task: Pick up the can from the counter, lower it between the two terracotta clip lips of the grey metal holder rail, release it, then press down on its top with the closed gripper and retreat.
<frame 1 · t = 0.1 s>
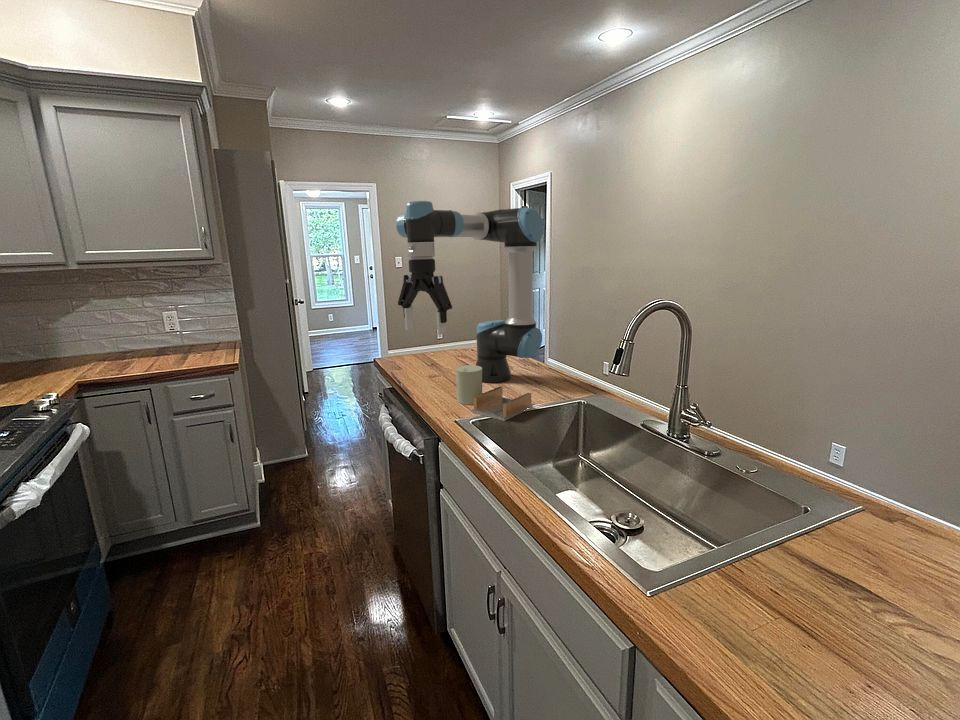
hand: (425, 331, 141), 28 cm above the worktop, fingers open, 13 cm apart
can: (469, 400, 166), on the worktop
rail holder: (502, 409, 156), on the worktop
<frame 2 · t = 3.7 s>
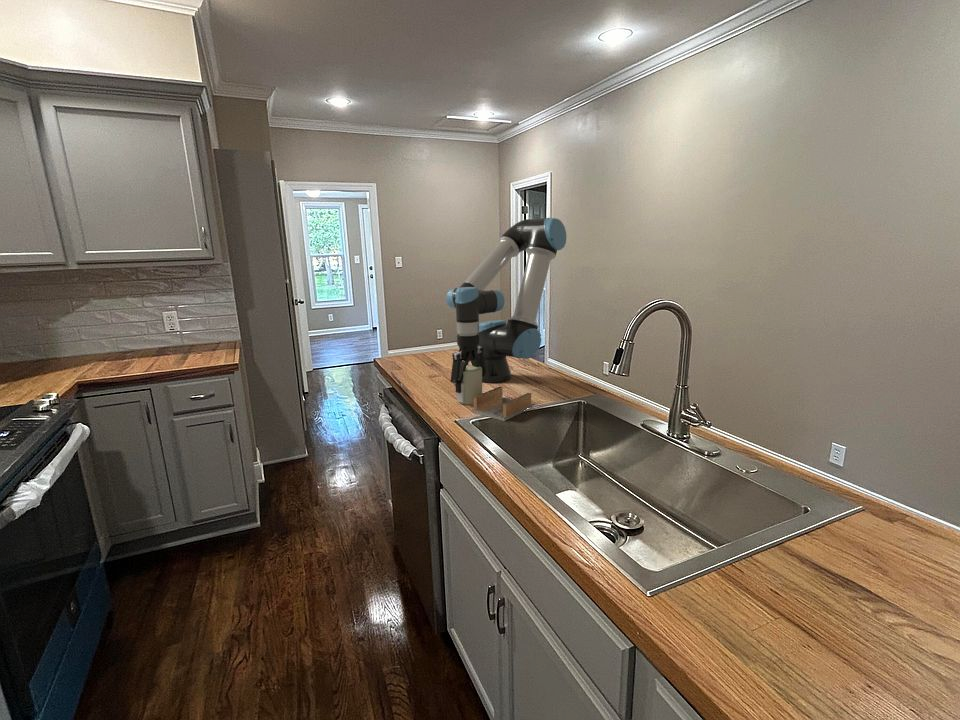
hand: (469, 397, 166), 1 cm above the worktop, fingers closed on can, 9 cm apart
can: (469, 400, 166), on the worktop, touching gripper
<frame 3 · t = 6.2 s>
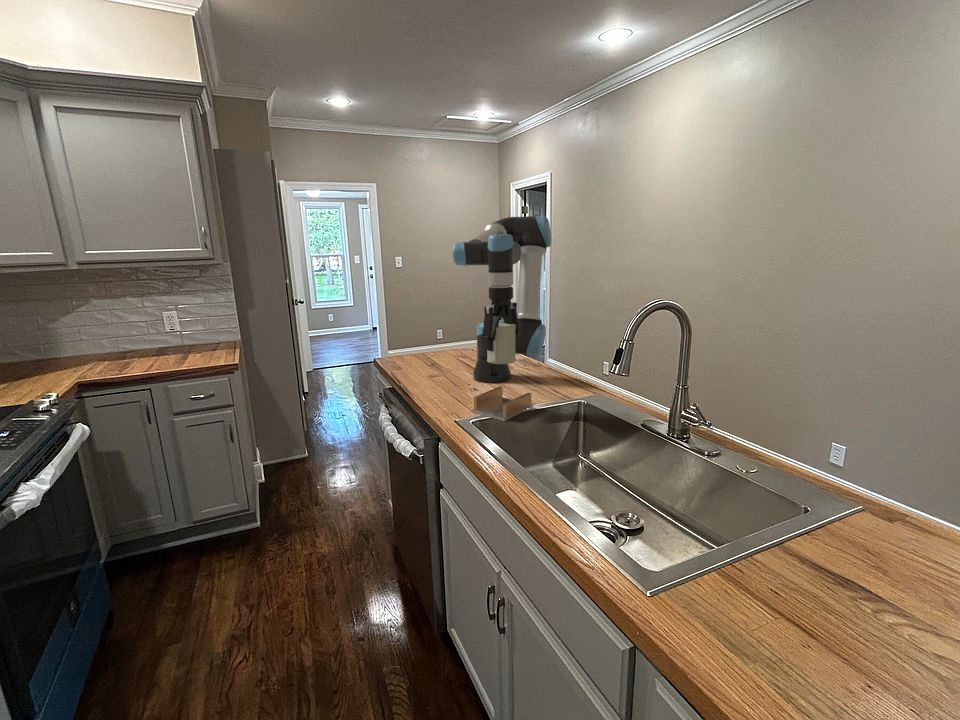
hand: (501, 357, 152), 17 cm above the worktop, fingers closed on can, 9 cm apart
can: (501, 361, 152), point 16 cm above the worktop, touching gripper
when the fingers open (3 cm above the worktop, at t = 8.9 s): can stays where it is, resting on rail holder.
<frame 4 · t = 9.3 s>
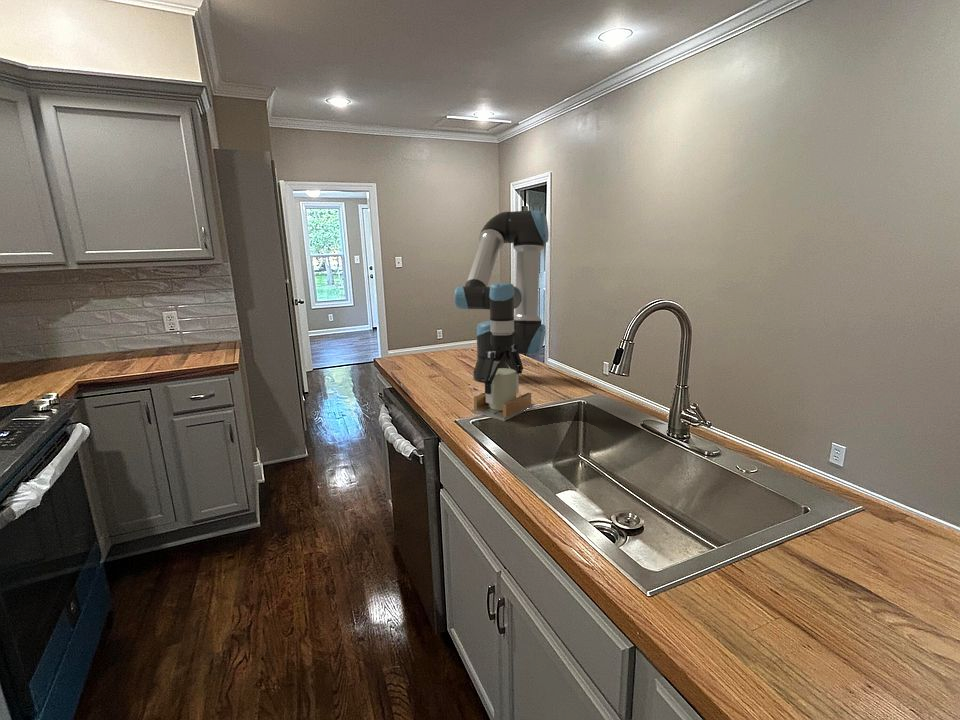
hand: (502, 397, 155), 4 cm above the worktop, fingers open, 13 cm apart
can: (502, 406, 156), point 1 cm above the worktop, touching rail holder
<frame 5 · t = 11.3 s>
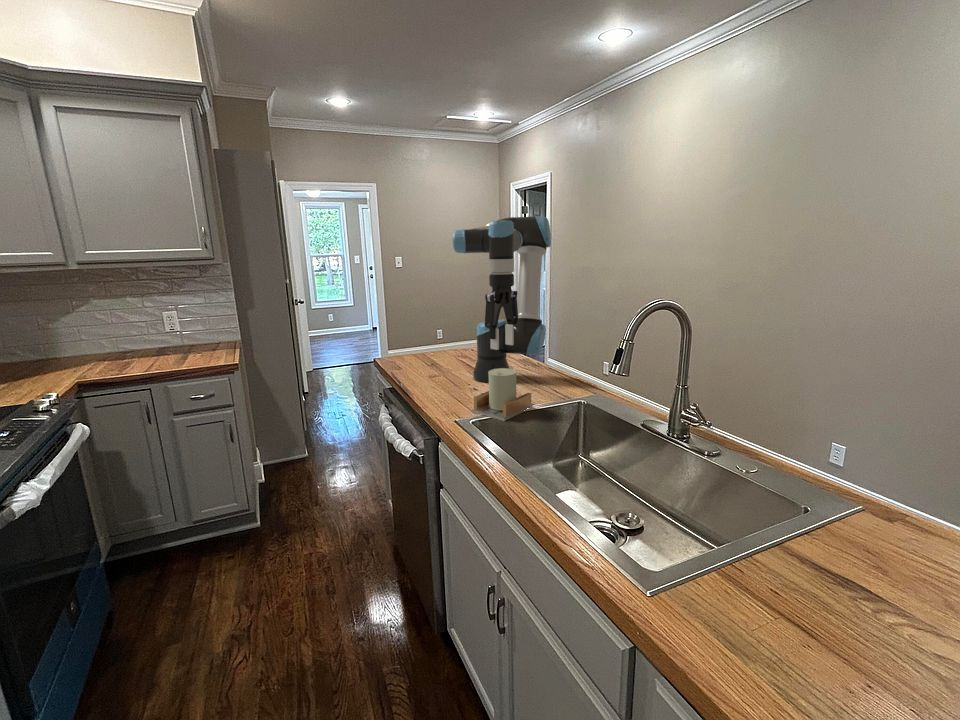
hand: (502, 346, 151), 21 cm above the worktop, fingers open, 7 cm apart
nothing on the worktop moved.
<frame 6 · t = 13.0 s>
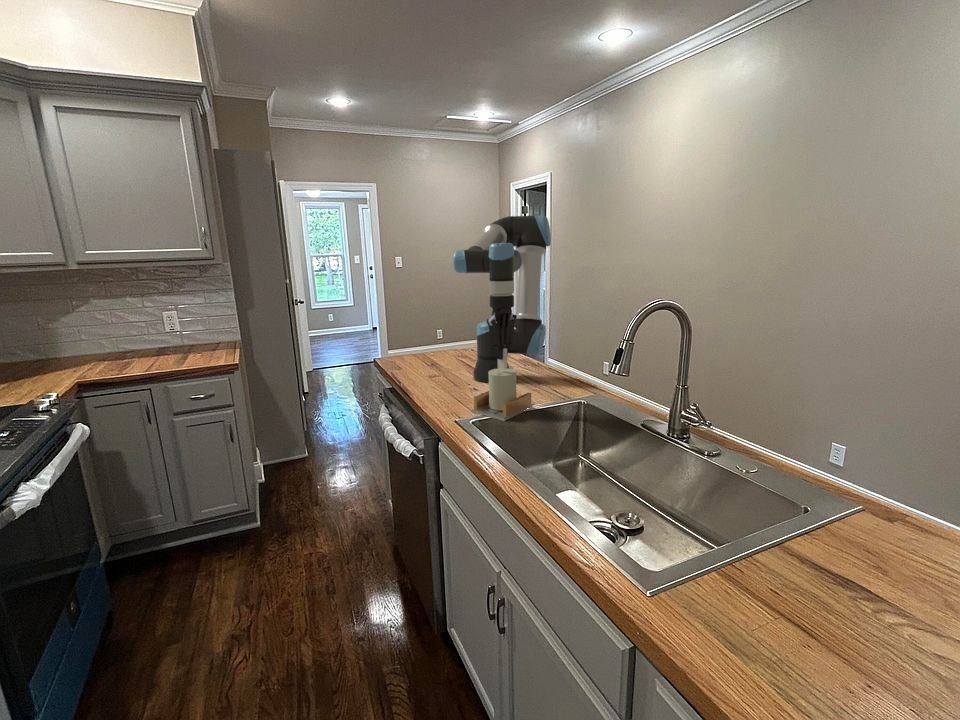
hand: (502, 368, 152), 14 cm above the worktop, fingers closed
nothing on the worktop moved.
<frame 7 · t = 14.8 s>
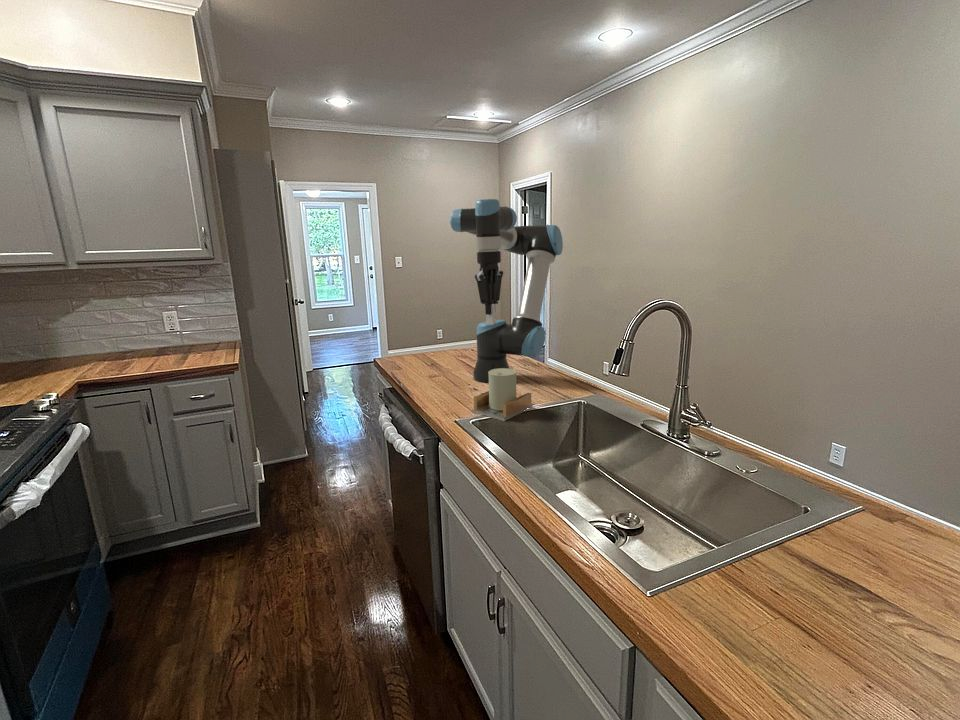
hand: (490, 323, 157), 27 cm above the worktop, fingers closed
nothing on the worktop moved.
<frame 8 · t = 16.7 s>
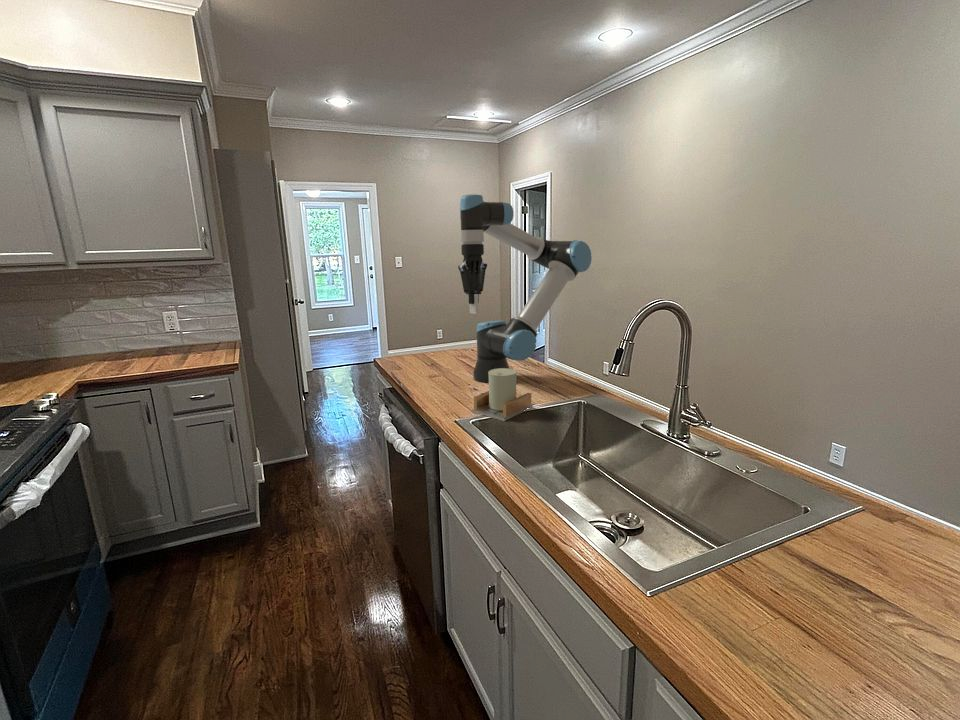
hand: (474, 313, 166), 29 cm above the worktop, fingers closed
nothing on the worktop moved.
at the end: can inside the target area on the rail holder (0.1 cm from its centre), point 1.1 cm above the rail holder's base; can tilted 0°; the gripper is holding nothing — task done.
